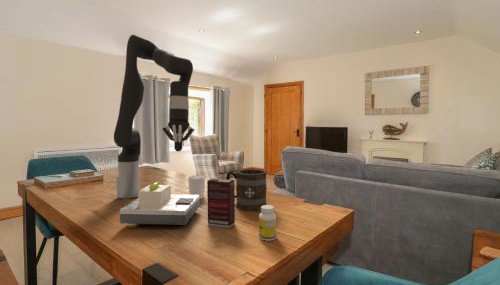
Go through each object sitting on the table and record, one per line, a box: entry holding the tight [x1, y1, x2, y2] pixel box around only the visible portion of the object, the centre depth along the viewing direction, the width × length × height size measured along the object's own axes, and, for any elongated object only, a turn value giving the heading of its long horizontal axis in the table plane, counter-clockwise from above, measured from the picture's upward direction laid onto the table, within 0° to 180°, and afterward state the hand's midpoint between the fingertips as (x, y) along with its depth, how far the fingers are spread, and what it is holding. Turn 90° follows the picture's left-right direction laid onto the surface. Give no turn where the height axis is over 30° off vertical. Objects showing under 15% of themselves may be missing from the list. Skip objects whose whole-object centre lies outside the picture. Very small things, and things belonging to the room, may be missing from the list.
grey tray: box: [119, 199, 201, 229], centre depth 100 cm, size 22×20×5 cm
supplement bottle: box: [258, 204, 277, 242], centre depth 84 cm, size 5×5×10 cm
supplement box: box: [206, 177, 236, 229], centre depth 95 cm, size 9×5×16 cm, turn 71°
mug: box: [225, 168, 268, 212], centre depth 117 cm, size 20×14×15 cm
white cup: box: [187, 174, 206, 200], centre depth 130 cm, size 8×8×10 cm
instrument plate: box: [119, 181, 200, 215], centre depth 100 cm, size 22×20×8 cm
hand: (178, 151), depth 110 cm, fingers closed
